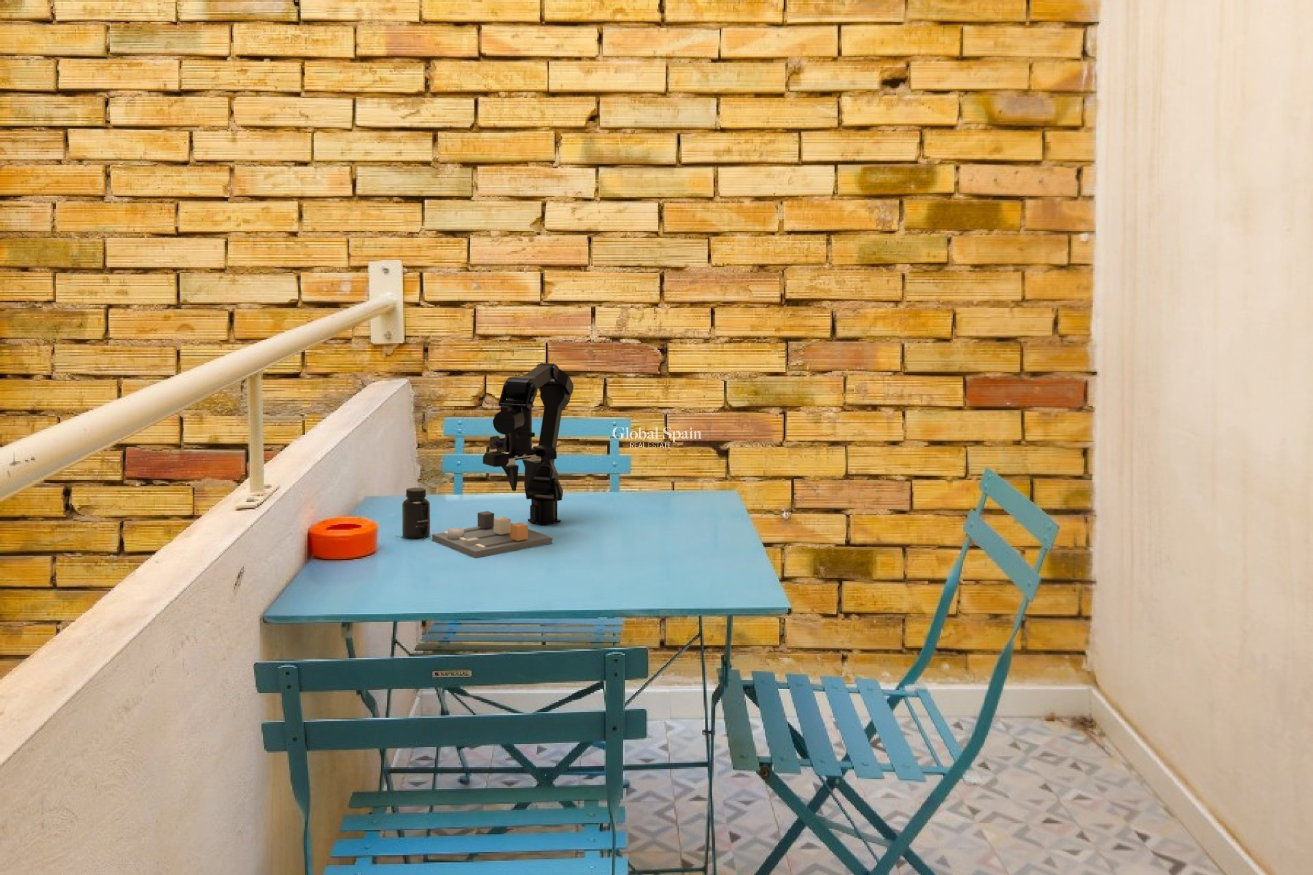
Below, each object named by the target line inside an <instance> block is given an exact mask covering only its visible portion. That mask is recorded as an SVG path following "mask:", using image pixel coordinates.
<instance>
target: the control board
mask: <svg viewBox="0 0 1313 875" xmlns="http://www.w3.org/2000/svg"><path fill="white" fill-rule="evenodd" d="M511 524H514V523H512V522H511ZM431 541H433V542H435V543H438V544H441V545H443V546H445V547H448V548H451V549H453V550H454V551H457V552H460V553H463V554H465V555H468V556H471V558H472V557H473V558H475V559H476V558H481V557H488V556H492V555H493V556H494V555H497V554H503V553H507V552H513V551H518V550H524V549H530V548H534V547H538V546H544V545H550V543H551V544H553V537H552V536H550V535H547V534H544V533H541V532H539V531H538V532H537V531H536V530H532V529H530V528H528V539H525V540H520V541H517V540H514V539H511V533H507V534H501V535H500V534H497V533H495V532H494V527H490V528H485V529H484V528H481V527H478V526H474V527H468V528H462V527H451V528H448V529H447V530H446V531H443V532H438V533H433V534H432V535H431Z"/></svg>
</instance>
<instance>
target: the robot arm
mask: <svg viewBox="0 0 1313 875" xmlns="http://www.w3.org/2000/svg"><path fill="white" fill-rule="evenodd" d="M538 391H539V397H540V400H541V402H542V405H543V414H542V419H541V426H540V432H539V439H538V445H535V446H533V444H532V443H533V438H535V437H536V433H535V432H533V412H532V411H533V410H532V409H533V408H534V402H535V400H536V397H537V396H538ZM573 392H574V383H573V380H572V379H571V377H570V375H569V374H567V373H566V372H565V371H563V370H561V369H560V368H559V366H558V364H555V363H551V362H549V363H545V362H540V363H538V364H537V365H536V367H534V368H533V369H531V370H530V371H528V372H526V373H525V374H523V375H515V376H509V377H508V378H507V379H506V380H505V381H504V383H503V386H502V390H501V393H500V397H499V400H498V404H497V405H498V407H500V411H499V412H496V414H495V415H494V416H493V419H492V426H493V428H494V430H495V431H496V432H497V433H498V434H500V435H504V437H500V436H499V435H492V436H490V437H489V447H490V449H491V451H487V452H485V453H484V454H483V456H482V464H483V465H486V466H490V467H493V468H500V467H501V468H502V469H503V471H504V473H505V475H506V477H507V481H508V483H509V486H510V487H511V491H513V492H516V491H517V486H518V477H519V467H520V466H519V464H516V461H518V460H522V463H523V466H524V483H523V487H524V492H525V499H526V500H530V505H529V518H527V521H528V522H530V523H534V524H537V525H540V526H545V525H551V524H555V523H561V522H562V520H561V519H559V518H558V501H559V502H561V501H563V496H564V489H563V487H562V485H561V483H560V481H559V473H558V470H557V468H556V466H555V460H557V459H558V451H557V446H558V439H559V432H560V425H561V420H562V413H563V410H564V409H566V407H567V406H568V404H569V403H570V401H571V396H572V394H573ZM493 450H494V451H493ZM495 450H496V451H495Z"/></svg>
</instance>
